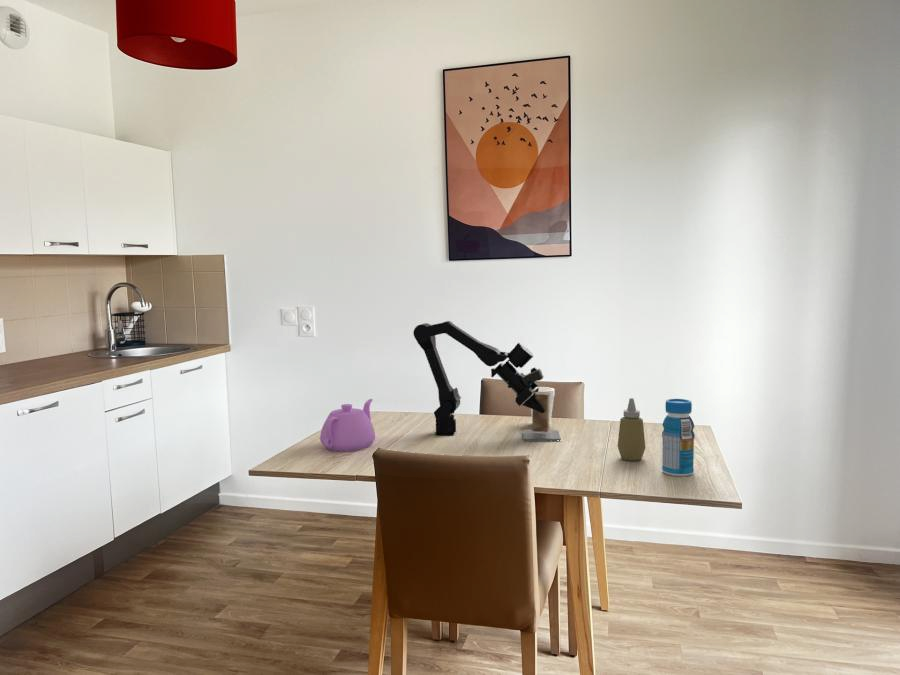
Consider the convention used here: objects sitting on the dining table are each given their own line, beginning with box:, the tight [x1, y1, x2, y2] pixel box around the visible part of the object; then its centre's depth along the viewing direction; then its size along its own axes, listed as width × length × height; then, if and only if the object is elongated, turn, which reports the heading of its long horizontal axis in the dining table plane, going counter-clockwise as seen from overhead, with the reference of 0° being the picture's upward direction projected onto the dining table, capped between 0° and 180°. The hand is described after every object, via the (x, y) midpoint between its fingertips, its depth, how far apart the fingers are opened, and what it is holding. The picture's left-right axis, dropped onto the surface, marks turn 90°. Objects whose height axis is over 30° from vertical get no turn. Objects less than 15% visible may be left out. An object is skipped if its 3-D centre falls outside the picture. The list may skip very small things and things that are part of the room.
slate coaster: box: [522, 429, 562, 442], centre depth 232 cm, size 12×12×1 cm
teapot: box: [319, 398, 376, 452], centre depth 226 cm, size 25×18×14 cm
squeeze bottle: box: [617, 397, 646, 462], centre depth 203 cm, size 8×8×18 cm
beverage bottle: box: [661, 398, 696, 477], centre depth 188 cm, size 8×8×20 cm
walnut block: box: [532, 392, 550, 432], centre depth 232 cm, size 5×5×12 cm
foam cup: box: [530, 386, 556, 425], centre depth 250 cm, size 10×9×13 cm
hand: (544, 410), depth 231 cm, fingers closed on walnut block, 5 cm apart
